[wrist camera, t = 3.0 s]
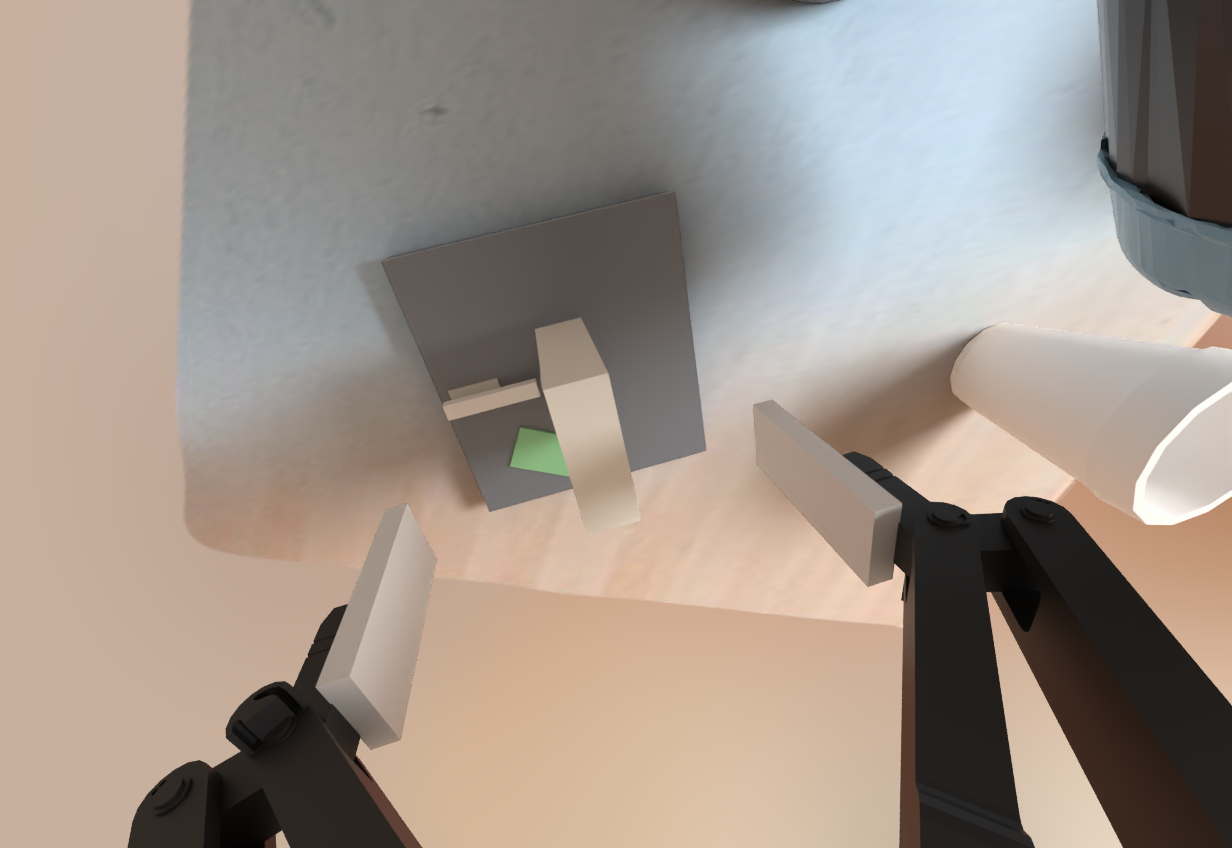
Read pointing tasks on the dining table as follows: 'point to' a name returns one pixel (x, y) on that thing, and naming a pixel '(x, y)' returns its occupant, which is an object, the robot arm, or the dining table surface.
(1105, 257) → the dining table surface
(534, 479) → the base
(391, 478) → the dining table surface
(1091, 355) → the foam cup
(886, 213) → the dining table surface
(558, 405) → the cream angular block
